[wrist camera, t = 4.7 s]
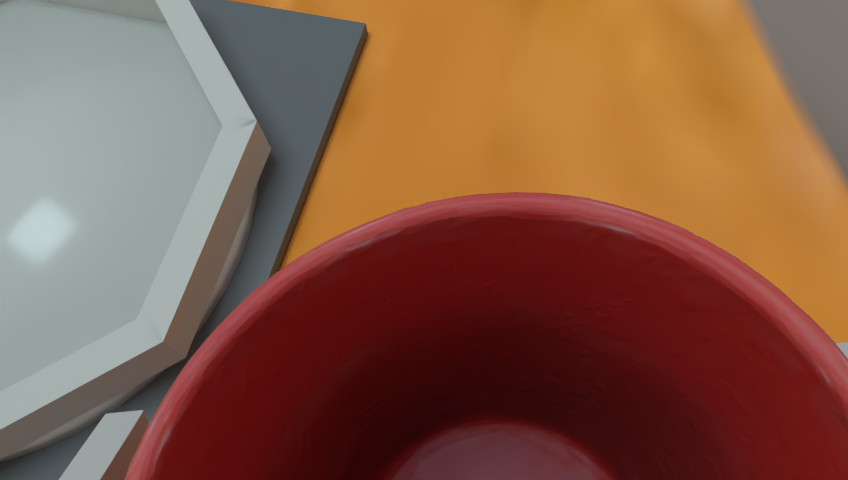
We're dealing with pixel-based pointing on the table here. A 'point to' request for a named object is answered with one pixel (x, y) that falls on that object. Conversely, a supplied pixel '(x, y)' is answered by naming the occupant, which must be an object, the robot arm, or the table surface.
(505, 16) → the table surface
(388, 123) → the table surface
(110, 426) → the robot arm
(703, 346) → the flower pot
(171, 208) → the grey octagonal tray
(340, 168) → the table surface
